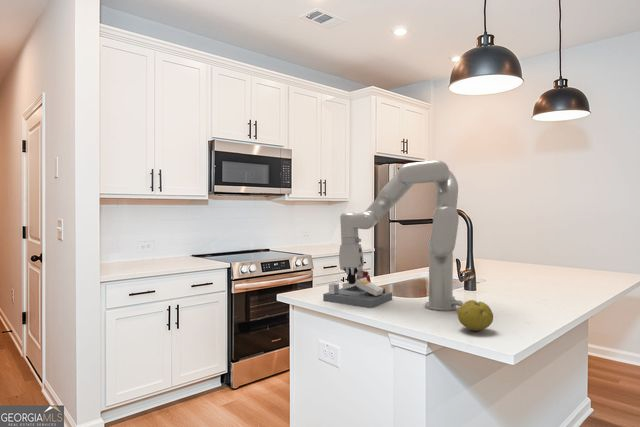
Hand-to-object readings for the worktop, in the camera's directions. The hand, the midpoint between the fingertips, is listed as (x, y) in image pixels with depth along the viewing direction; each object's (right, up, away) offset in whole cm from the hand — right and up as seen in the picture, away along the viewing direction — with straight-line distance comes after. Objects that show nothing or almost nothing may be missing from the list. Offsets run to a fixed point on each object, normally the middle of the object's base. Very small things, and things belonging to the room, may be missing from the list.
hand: (352, 283), depth 182 cm
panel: (+3, -8, +6) cm, 11 cm away
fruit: (+38, -9, -41) cm, 56 cm away
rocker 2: (+8, -3, +3) cm, 9 cm away
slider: (-8, -5, +5) cm, 10 cm away
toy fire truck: (+7, -8, +25) cm, 27 cm away
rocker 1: (+3, -3, +13) cm, 14 cm away
